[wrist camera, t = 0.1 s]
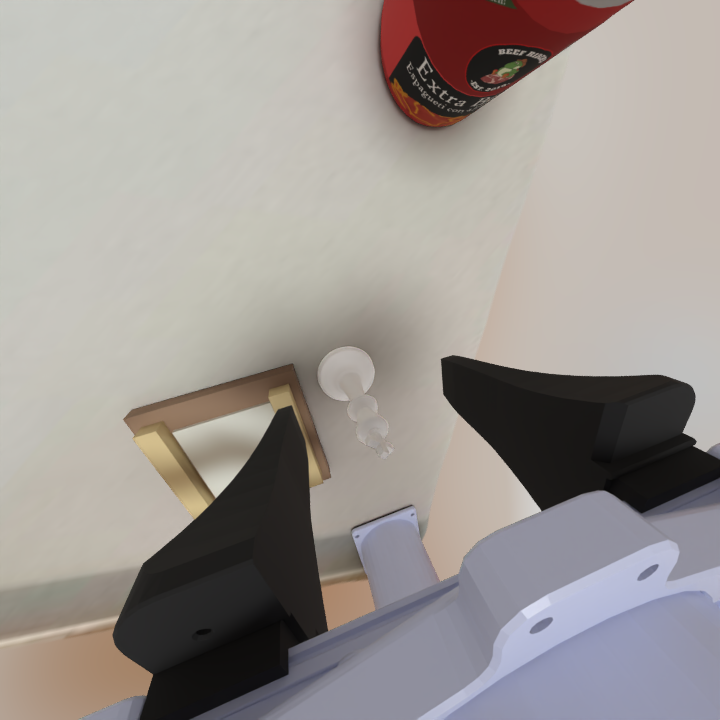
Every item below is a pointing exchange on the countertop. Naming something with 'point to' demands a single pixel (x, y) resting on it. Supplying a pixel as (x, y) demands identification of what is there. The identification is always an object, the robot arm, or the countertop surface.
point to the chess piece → (355, 394)
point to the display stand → (220, 433)
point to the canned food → (474, 48)
